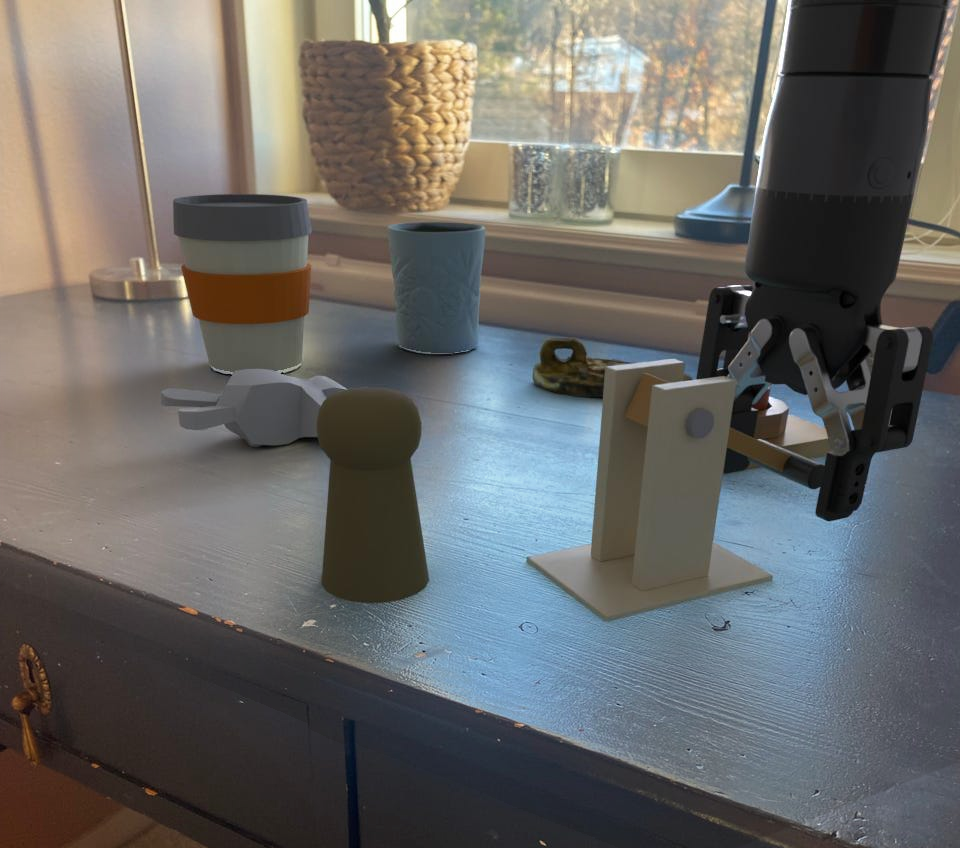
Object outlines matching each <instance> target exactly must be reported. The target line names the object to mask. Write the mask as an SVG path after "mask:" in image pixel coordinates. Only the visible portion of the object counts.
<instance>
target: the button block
mask: <svg viewBox="0 0 960 848" xmlns="http://www.w3.org/2000/svg"><path fill="white" fill-rule="evenodd" d="M789 412H790V407H789V406H788V404H786V403H785V401H783V400H780V399H778V398H775V397H772V396H769V401H768V407H767V410H764V411H758V416H757V422H756V428H755V434H754V439H762V440H764V441H767V442H769V443H772V444H774V445H777V446H779V447H781V448H784V449H786V450H789V451H791V452H794V453H796V454H799V455H801V456H803V457H806V458H808V459H816V458H820V457H826V455H827V453H828V452H833V451H832V449H831V446H830V443H829V439H828V436H827V432H826V429H825V426H823V425H821V424H817V423H815V422H812V421H809V420H806V419H804V418H801V417H799V416H795V415H793V414H790V413H789ZM760 468H762V467H760V466H758V465H756V464H753V463H751V462H750V464H749V466H748V468H747V469H746V470H744V471H749V470H755V469H760ZM744 471H743V472H744ZM723 475H726V474H725V473H723Z"/></svg>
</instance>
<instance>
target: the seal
mask: <svg viewBox="0 0 960 848" xmlns="http://www.w3.org/2000/svg"><path fill="white" fill-rule="evenodd" d="M561 349H567V350H572V352H571V355H570V356H567V358H562V357H559V356H558V355H557V354H556V350H561ZM587 355H588V354H587V350H586V347H585V345H584V343H583V342H582V340H581V339H578V337H575V336H574V337H573V336H568V337H561V336H560V337H559V336H554V337H546V338H545V339H544V341H543V343H542V344H541V347H540V350H539V360H540V362H538V363H535V364H534V366H533V370H532V380H533V382H534V383H535V384H536V385H537V386H538V387H541V388H542V389H545V390H547V391H551V392H554V393H557V394H562V395H565V396H571V397H579V398H581V397H583V398H597V397H598V398H603V392H604V379H605V368H606V367H607V366H616V365H624V364H633V363H638V362H637V361H635V362H629V361H623V360H619V359H607V358H598V357H589V356H587ZM639 363H641V361H640V362H639ZM689 380H694V379H693V378H692V377H691V375H689V374H687V373H684V377H683V381H689Z"/></svg>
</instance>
